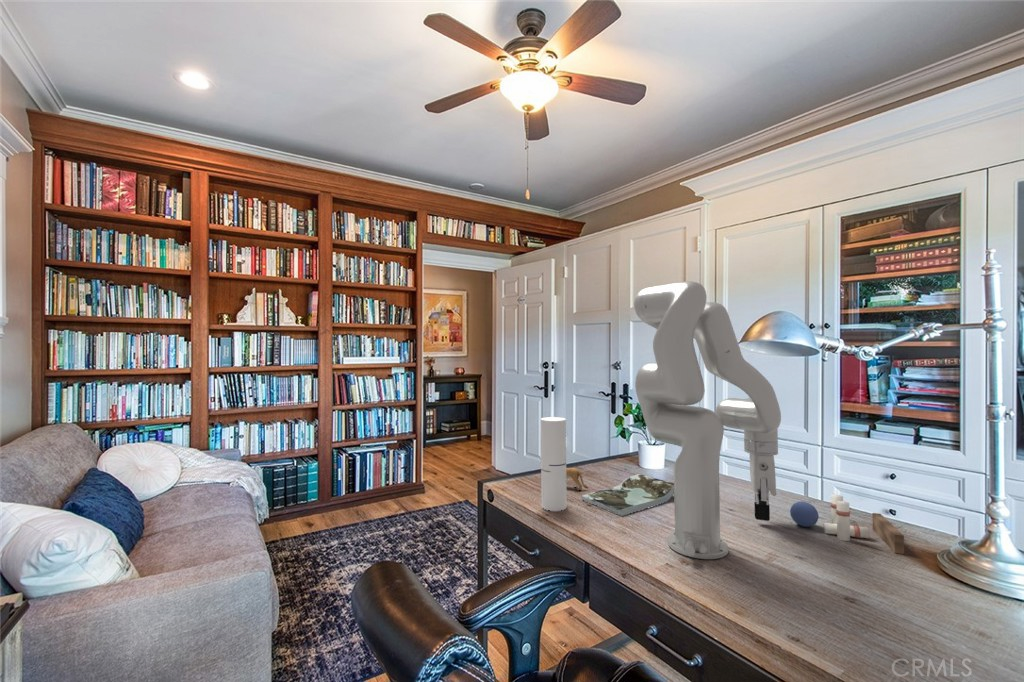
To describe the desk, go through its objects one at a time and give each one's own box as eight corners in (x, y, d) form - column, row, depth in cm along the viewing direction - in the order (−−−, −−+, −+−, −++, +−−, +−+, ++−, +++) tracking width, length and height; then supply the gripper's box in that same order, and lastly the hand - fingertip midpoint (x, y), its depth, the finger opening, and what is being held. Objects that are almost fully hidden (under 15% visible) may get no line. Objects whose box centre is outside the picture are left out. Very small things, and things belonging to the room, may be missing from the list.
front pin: (826, 535, 108) (870, 540, 104) (825, 524, 108) (869, 529, 104) (823, 531, 110) (866, 536, 107) (823, 520, 110) (866, 525, 107)
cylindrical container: (565, 512, 124) (564, 421, 125) (539, 510, 126) (539, 420, 126) (567, 503, 131) (566, 417, 132) (543, 501, 133) (542, 416, 133)
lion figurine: (541, 488, 146) (541, 460, 146) (546, 483, 151) (545, 456, 151) (587, 492, 141) (586, 463, 141) (589, 487, 146) (589, 459, 146)
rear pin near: (852, 542, 104) (851, 505, 104) (838, 540, 105) (837, 503, 105) (848, 537, 106) (847, 501, 106) (835, 536, 107) (834, 500, 107)
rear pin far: (845, 533, 108) (844, 498, 109) (832, 532, 109) (831, 496, 110) (842, 529, 111) (841, 494, 111) (830, 528, 112) (829, 493, 112)
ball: (807, 493, 113) (790, 507, 112) (828, 514, 110) (811, 528, 109) (797, 500, 118) (781, 513, 117) (817, 520, 115) (801, 534, 113)
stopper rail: (904, 554, 97) (903, 535, 97) (895, 553, 98) (894, 534, 98) (880, 530, 110) (880, 513, 110) (872, 529, 111) (872, 512, 111)
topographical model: (621, 519, 121) (619, 500, 121) (583, 509, 133) (581, 492, 134) (681, 496, 135) (679, 479, 135) (641, 489, 147) (639, 473, 148)
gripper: (782, 454, 106) (784, 532, 106) (773, 441, 120) (774, 511, 120) (746, 451, 109) (748, 527, 109) (742, 439, 123) (743, 507, 122)
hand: (762, 518), depth 114 cm, fingers closed
